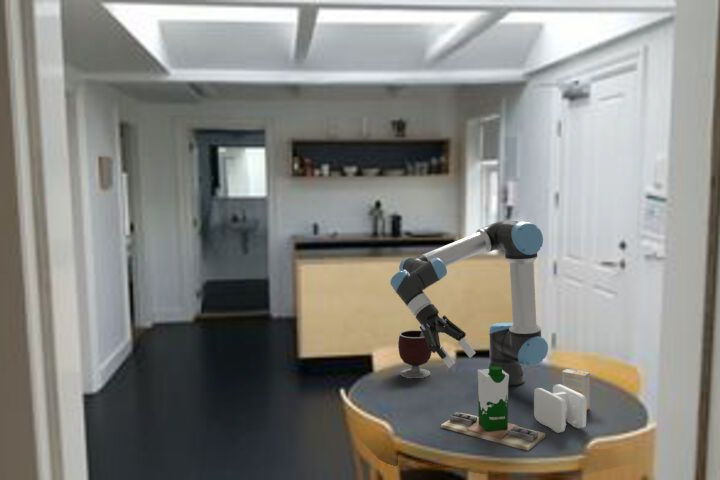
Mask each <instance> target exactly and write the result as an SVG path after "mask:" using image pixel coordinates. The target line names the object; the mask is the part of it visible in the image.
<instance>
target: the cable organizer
mask: <svg viewBox="0 0 720 480" xmlns="http://www.w3.org/2000/svg"><path fill="white" fill-rule="evenodd" d="M533 394H534V395H533V416H534V419H535V420H536V422H539V424H541V425H543V426H545V427H548V428H550V429H551V431H553V432H555V433H557V434H559V433H562V432H563V433H564V432H565V430H566V426H567V425H568V424H570V425H571V426H572V427H574V428H576V429H578V430H579V429H583V428H585V427H586V426H587V411H586V398H585V396H584V395H582V394H581V393H578V392H576V391H574V390H572V389H570V388H567V387H565V386H563V385H562V383H561V384H560V383H559V384H558V383H557V384H554V385H553V386H552V392H551V391H548V390H547V389H544V388H543V387H536V388H535V389H534V391H533ZM567 423H568V424H567Z"/></svg>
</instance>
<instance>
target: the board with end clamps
mask: <svg viewBox="0 0 720 480" xmlns="http://www.w3.org/2000/svg"><path fill="white" fill-rule="evenodd" d="M440 428H442V429H446V430H450V431H453V432H456V433H461V434H464V435H468V436H472V437H475V438H479V439H483V440H486V441H491V442H494V443H497V444H501V445H505V446H509V447H512V448H515V449H521V450H523V451H528V452H529V451H530V450H531V449H532V448H533V447H535V446H536V445H537V444H538V443H539V442H541V441H542V440H543V439H545V437H546V433H545V432H541V431H538V430H533V429H529V428H524V427H521V426H519V425H518V424H513V423H510V422H508V430H500V431H490V432H487V431H486V430H485V429H484V428H483V427H482V426H481V425H480V424H479V416H477V415H472V414H469V413H464V412H457V411H455V412H454V413H453V414H450V415H449V419H448V420H447V421H445V422H443V423H441V426H440Z"/></svg>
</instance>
